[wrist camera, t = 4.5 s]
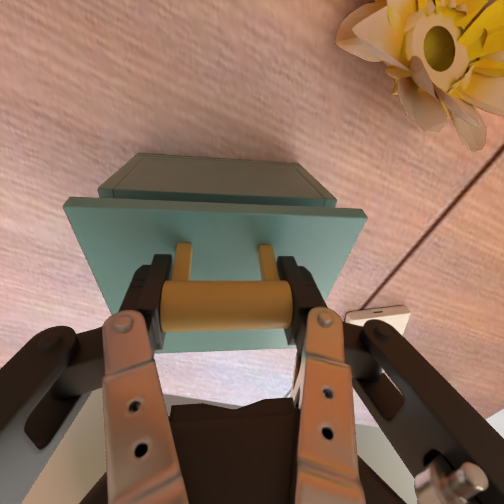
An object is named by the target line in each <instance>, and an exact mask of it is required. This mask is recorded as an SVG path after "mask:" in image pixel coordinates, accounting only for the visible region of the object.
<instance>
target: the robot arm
mask: <svg viewBox="0 0 504 504" xmlns="http://www.w3.org/2000/svg"><path fill="white" fill-rule="evenodd" d="M276 265H277V269H278V274H279V278H280V280H285V281H287V282H288V283H289V285H290V288H291V291H292V297H293V318H292V322H291V325H290V327H289V328H287V329H284V332H285V336H286V340H287V344H288V345H296V348H297V354H296V358H295V366H294V373H293V381H292V389H291V396H290V398H275V399H264V400H261V401H258V402H255V403H253V404H250V405H247V406H244V407H241V408H239V409H228V408H223V407H218V406H213V405H208V404H203V403H202V404H187V405H173V406H171V413H170V416H168V415H167V411H166V406H165V402H164V398H163V393H162V389H161V385H160V380H159V376H158V372H157V368H156V363H155V360H154V358H153V357H154V353H155V350H163V345H164V340H165V335H166V332H163V331H162V329H161V325H160V299H161V292H162V287H163V284H164V282H165V281H171V278H172V272H173V260H172V255H171V254H155V255H154V257H153V260H152V263H151V265H142V266H141V267H139V268H138V269H137V270H136V271H135V273H134V275H133V278H132V281H131V282H130V285H129V288H128V290H127V292H126V294H125V297H124V299H123V302H122V304H121V306H120V309H119V311H118V312H117V313H115V314H113V315H112V316H110V317H109V318H108V319H107V320H106V321H105V322H104V324H103V326H102V327H100V328H97V329H94V330H90V331H86V332H82V333H78V334H76V333H75V331H74V330H73V329H72V328H70V327H67V326H56V327H51V328H48V329H46V330H44V331H41V332H40V333H38V334H37V335H35V336H34V337H33V338H32V339H30V340H29V341H28V342H27V343H26V344H25V345H24V346H23V347H22V348H21V349H20V350H19V351H18V352H17V353H16V354H15V355H14V356H13V357H12V358H11V359H10V360H9V361H8V362H7V363H6V364H5V365H4V366H3V367H2V368H1V369H0V504H21V503H22V501H23V500H24V498H25V496H26V495H27V493H28V492H29V490H30V489H31V487H32V485H33V484H34V482H35V481H36V479H37V478H38V476H39V474H40V473H41V471H42V470H43V468H44V467H45V465H46V463H47V462H48V460H49V459H50V457H51V455H52V454H53V452H54V451H55V449H56V448H57V446H58V444H59V443H60V441H61V440H62V438H63V437H64V435H65V433H66V432H67V430H68V429H69V427H70V425H71V424H72V422H73V421H74V419H75V418H76V416H77V415H78V413H79V411H80V410H81V408H82V407H83V405H84V404H85V402H86V400H87V399H88V397H89V396H90V394H91V392H92V391H93V390H96V389H99V388H102V393H103V411H104V430H105V449H106V466H107V471H106V473H105V474H104V475H103V476H102V477H101V478H100V480H99V481H98V482H97V483H96V484H95V485H94V487H93V488H92V489H91V490H90V491H89V493H88V494H87V495H86V496H85V497H84V498H83V500H82V501H81V502H80V503H79V504H406V503H405V502H404V501H403V500H402V499H401V498H400V497H399V496H398V495H397V494H396V493H395V492H394V491H393V490H392V489H391V488H390V487H389V486H388V485H387V484H386V483H385V482H384V481H383V480H382V479H381V478H380V477H379V476H378V475H377V474H376V473H375V472H374V471H373V470H372V469H371V468H370V467H369V466H368V465H367V464H366V463H365V462H364V461H363V460H362V459H361V458H360V457H359V456H358V455H357V444H356V431H355V416H354V403H353V389H352V386H353V388H354V389H355V391H356V392H357V394H358V395H359V397H360V398H361V400H362V401H363V403H364V404H365V406H366V407H367V409H368V410H369V412H370V413H371V415H372V416H373V418H374V419H375V421H376V422H377V424H378V425H379V427H380V428H381V430H382V431H383V433H384V434H385V435H386V437H387V439H388V440H389V442H390V443H391V444H392V446H393V447H394V449H395V450H396V452H397V453H398V455H399V456H400V458H401V459H402V461H403V462H404V464H405V465H406V467H407V468H408V470H409V471H410V473H411V474H412V475H413V477H414V479H415V481H414V487H415V493H416V496H417V499H418V500H417V503H418V504H504V439H503V438H502V437H501V436H500V435H499V434H498V432H496V430H495V429H494V428H493V427H492V426H490V424H489V423H488V422H487V421H486V420H485V419H484V418H483V417H482V416H481V415H480V414H479V413H478V412H477V411H476V410H475V409H474V408H473V407H472V406H471V405H470V404H469V403H468V402H467V401H466V400H465V399H464V398H463V397H462V396H461V395H460V394H459V393H458V392H457V391H456V390H455V389H454V388H453V387H452V386H451V385H450V384H449V383H448V382H447V381H446V380H445V379H444V378H443V377H442V376H441V375H440V374H439V373H438V372H437V371H436V370H435V369H434V367H433V366H432V365H431V364H430V363H429V362H428V361H427V360H426V359H425V358H424V357H423V356H422V355H421V354H420V353H419V352H418V351H417V350H416V349H415V348H414V347H413V346H412V345H411V344H410V343H409V342H408V341H407V340H406V339H405V338H404V337H403V336H402V335H401V334H400V333H399V332H398V331H397V330H396V329H395V328H394V327H393V326H391V325H390V324H388V323H386V322H384V321H382V320H378V319H370V320H368V321H366V322H365V323H364V326H358V325H354V324H350V323H346V322H343V321H342V319H341V317H340V316H339V315H338V314H337V313H336V312H335V311H333V310H331V309H329V308H328V307H327V305H326V303H325V301H324V299H323V297H322V295H321V293H320V291H319V289H318V287H317V285H316V283H315V281H314V278H313V276H312V274H311V272H310V271H308V270H307V269H306V268H305V267H304V266H298V265H297V263H296V260H295V258H294V256H278V258H277V262H276ZM383 371H385V372H386V373H387V375H388V376H389V377H390V378H391V380H392V381H393V382H394V383H395V385H396V386H397V387H398V388H399V390H400V391H401V393H402V394H403V396H402V395H401V394H400V393H399V391H398V390H397V389H396V388H395V386H394V385H393V384H392V383H391V381H390V380H389V379H388V378H387V376H386V375H385V374H384V373H383Z"/></svg>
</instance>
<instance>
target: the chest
mask: <svg viewBox="0 0 504 504" xmlns="http://www.w3.org/2000/svg"><path fill="white" fill-rule="evenodd" d="M98 193H99V197H100V198H113V199H137V200H161V201H185V202H209V203H233V204H256V205H280V206H304V207H328V208H335V206H336V202H337V199H336V198H335V197H334V196H333V195H332V194H331V193H330V192H329V191H327V190H326V189H325V188H324V187H323V186H322V185H321V184H320V183H319V182H318V181H317V180H316V179H315V178H314V177H313V176H312V175H311V174H309V173H308V172H307V171H306V170H305V169H304V168H303V167H302V166H301V165H300V164H297V163H281V162H266V161H251V160H236V159H221V158H206V157H191V156H176V155H160V154H145V153H138V154H137V155H136V156H134V157H133V158H132V159H131V160H130V161H129V162H127V163H126V164H125V165H124V166H123V167H122V168H120V169H119V170H118V171H117V172H116V173H115V174H114V175H112V176H111V177H110V178H109V179H108V180H107V181H105V182H104V183H103V184H102V185H101V186H100V187H99V188H98Z"/></svg>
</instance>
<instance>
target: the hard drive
mask: <svg viewBox="0 0 504 504" xmlns="http://www.w3.org/2000/svg"><path fill="white" fill-rule="evenodd" d="M410 313H411V311H410V310H409V309H408V308H407V306H393V307H385V308H377V309H369V310H360V311H353V312H349V313H347V315H346V320H345V322H346V323H350V324H354V325H358V326H364V323H365V322H366V321H368V320H370V319H378V320H382V321H384V322H386V323H388V324H390V325H391V326H393V327H394V328H395V329H396V330H397V331H398V332H399V333H400V334H401V335H403V332H404V330H405V327H406V324H407V321H408V319H409V316H410ZM383 372H385V371H383Z"/></svg>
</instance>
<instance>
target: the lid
mask: <svg viewBox="0 0 504 504" xmlns="http://www.w3.org/2000/svg"><path fill="white" fill-rule="evenodd" d="M63 209H64V211H65V213H66V215H67V218H68V220H69V222H70V224H71V226H72V229H73V231H74V233H75V235H76V237H77V240H78V242H79V244H80V246H81V248H82V251H83V253H84V255H85V257H86V259H87V262H88V264H89V266H90V268H91V270H92V273H93V275H94V277H95V279H96V281H97V284H98V286H99V288H100V290H101V292H102V295H103V297H104V299H105V301H106V303H107V306H108V308H109V310H110V312H111V314H112V315H113V314H115V313H117V312H118V311H119V309H120V306H121V304H122V302H123V299H124V297H125V294H126V292H127V290H128V288H129V285H130V282H131V281H132V278H133V275H134V273H135V271H136V270H137V269H138V268H139V267H141V266H142V265H151V263H152V260H153V257H154V255H155V254H171V255H172V260H173V272H172V278H171V281H165V282H164V284H163V287H162V292H161V299H160V325H161V329H162V331H163V332H166V335H165V340H164V345H163V350H155V353H180V352H206V351H232V350H258V349H284V348H296V345H288V344H287V340H286V336H285V332H284V329H287V328H289V327H290V325H291V322H292V318H293V297H292V291H291V288H290V285H289V283H288V282H287V281H285V280H280V278H279V274H278V269H277V265H276V262H277V258H278V256H294V258H295V260H296V263H297V265H298V266H304V267H305V268H306V269H307V270H308V271H310V272H311V274H312V276H313V278H314V281H315V283H316V285H317V287H318V289H319V291H320V293H321V295H322V297H323V299H324V301H326V299H327V297H328V295H329V293H330V291H331V289H332V287H333V285H334V283H335V281H336V279H337V277H338V276H339V274H340V272H341V270H342V268H343V266H344V264H345V262H346V260H347V258H348V256H349V254H350V252H351V250H352V248H353V246H354V244H355V242H356V240H357V238H358V236H359V234H360V232H361V230H362V228H363V226H364V224H365V222H366V220H367V216H366V214H365V213H364V211H363V210H362V209H352V208H328V207H304V206H280V205H256V204H233V203H209V202H185V201H161V200H137V199H113V198H89V197H69V198H68V200H67V201H66V202H65V204H64V205H63ZM155 353H154V354H155Z"/></svg>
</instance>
